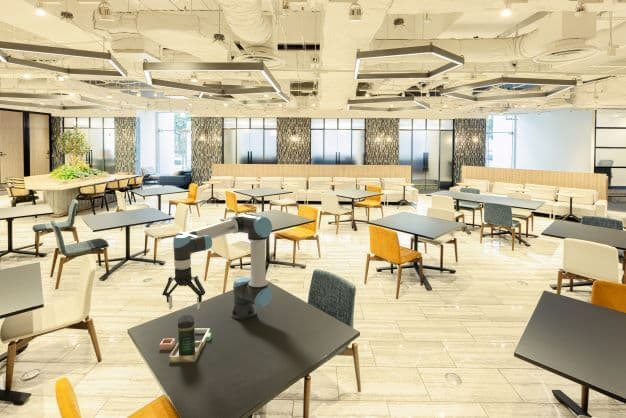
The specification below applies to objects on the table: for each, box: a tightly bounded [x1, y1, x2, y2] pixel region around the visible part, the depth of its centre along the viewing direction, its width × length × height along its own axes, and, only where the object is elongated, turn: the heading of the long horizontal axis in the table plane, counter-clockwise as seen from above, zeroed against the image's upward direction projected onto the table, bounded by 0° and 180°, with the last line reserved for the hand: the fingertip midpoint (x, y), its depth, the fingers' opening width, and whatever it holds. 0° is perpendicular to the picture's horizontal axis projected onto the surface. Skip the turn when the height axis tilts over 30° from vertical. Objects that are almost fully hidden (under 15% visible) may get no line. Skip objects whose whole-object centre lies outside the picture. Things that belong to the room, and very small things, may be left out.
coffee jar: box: [177, 314, 196, 356], centre depth 185 cm, size 10×8×19 cm
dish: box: [159, 337, 176, 351], centre depth 193 cm, size 6×6×3 cm
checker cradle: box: [194, 327, 212, 347], centre depth 201 cm, size 15×15×2 cm
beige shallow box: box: [168, 340, 204, 363], centre depth 186 cm, size 13×14×3 cm
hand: (184, 308), depth 183 cm, fingers open, 13 cm apart
